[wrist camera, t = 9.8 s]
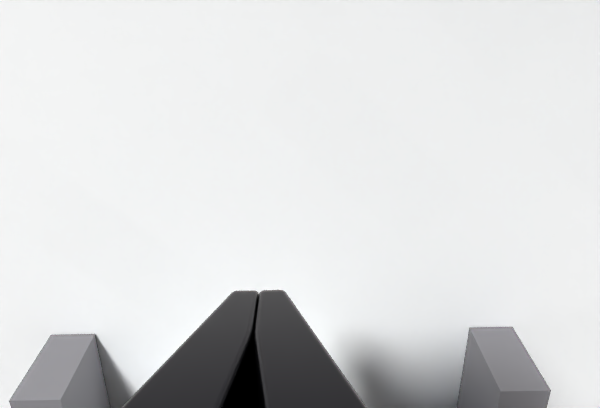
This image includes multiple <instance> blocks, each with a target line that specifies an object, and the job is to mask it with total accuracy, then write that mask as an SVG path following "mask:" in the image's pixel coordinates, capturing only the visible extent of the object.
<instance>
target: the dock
mask: <svg viewBox="0 0 600 408" xmlns="http://www.w3.org/2000/svg"><path fill="white" fill-rule="evenodd" d="M550 392H551V390H550V388H549V387H548V385H547V383H546V382H545V380H544V378H543V377H542V375H541V374H540V372H539V370H538V369H537V367H536V365H535V364H534V362H533V360H532V359H531V357H530V355H529V354H528V352H527V350H526V349H525V347H524V345H523V344H522V342H521V340H520V339H519V337H518V335H517V334H516V332H515V331H514V329H513V327H479V328H469V334H468V340H467V347H466V353H465V360H464V366H463V372H462V379H461V385H460V392H459V398H458V404H457V408H547V404H548V400H549V396H550ZM9 402H10V405H11V408H110V404H109V399H108V395H107V390H106V385H105V380H104V376H103V371H102V366H101V362H100V357H99V352H98V347H97V343H96V338H95V334H77V335H51V336H50V337H49V339H48V340H47V342H46V344H45V345H44V347H43V348H42V350H41V351H40V353H39V355H38V356H37V358H36V359H35V361H34V362H33V364H32V366H31V367H30V369H29V370H28V372H27V373H26V375H25V377H24V378H23V380H22V381H21V383H20V385H19V386H18V388H17V389H16V391H15V392H14V394H13V396H12V397H11V399H10V400H9Z"/></svg>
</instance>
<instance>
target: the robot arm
mask: <svg viewBox="0 0 600 408" xmlns="http://www.w3.org/2000/svg"><path fill="white" fill-rule="evenodd" d="M122 408H367V407H366V406H365V404H364V403H363V402H362V400H361V399H360V397H359V396H358V394H357V393H356V392H355V390H354V389H353V387H352V386H351V384H350V383H349V382H348V380H347V379H346V377H345V376H344V375H343V373H342V372H341V370H340V369H339V367H338V366H337V365H336V363H335V362H334V360H333V359H332V357H331V356H330V355H329V353H328V352H327V350H326V349H325V348H324V346H323V345H322V343H321V342H320V340H319V339H318V338H317V336H316V335H315V333H314V332H313V331H312V329H311V328H310V326H309V325H308V323H307V322H306V321H305V319H304V318H303V316H302V315H301V313H300V312H299V311H298V309H297V308H296V306H295V305H294V304H293V302H292V301H291V299H290V298H289V296H288V295H287V294H286V292H285V291H283V290H263V291H261V292H260V293H259V294H258V292H257V291H234V292H233V293H231V294H230V295H229V296H228V297H227V299H226V300H225V301H224V302H223V303H222V304H221V305H220V306H219V307H218V308H217V309H216V310H215V311H214V312H213V313H212V314H211V315H210V316H209V317H208V318H207V319H206V320H205V321H204V322H203V323H202V325H201V326H200V327H199V328H198V329H197V330H196V331H195V332H194V333H193V334H192V335H191V336H190V337H189V338H188V339H187V340H186V341H185V342H184V343H183V344H182V345H181V346H180V347H179V348H178V349H177V350H176V352H175V353H174V354H173V355H172V356H171V357H170V358H169V359H168V360H167V361H166V362H165V363H164V364H163V365H162V366H161V367H160V368H159V369H158V370H157V371H156V372H155V373H154V374H153V375H152V376H151V377H150V379H149V380H148V381H147V382H146V383H145V384H144V385H143V386H142V387H141V388H140V389H139V390H138V391H137V392H136V393H135V394H134V395H133V396H132V397H131V398H130V399H129V400H128V401H127V402H126V403H125V405H124V406H123V407H122Z"/></svg>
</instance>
